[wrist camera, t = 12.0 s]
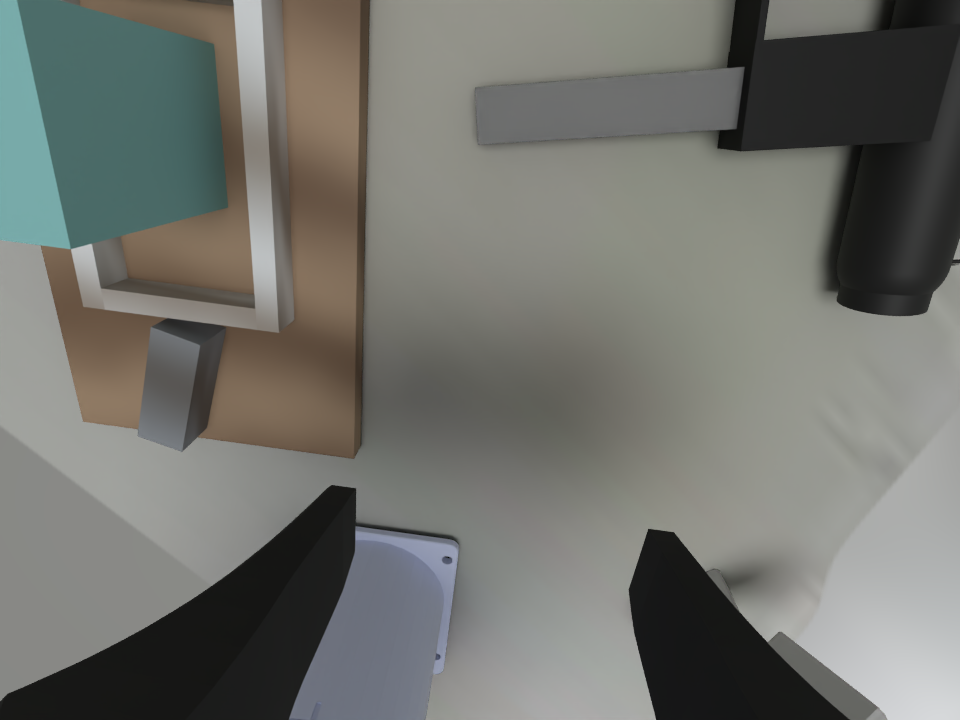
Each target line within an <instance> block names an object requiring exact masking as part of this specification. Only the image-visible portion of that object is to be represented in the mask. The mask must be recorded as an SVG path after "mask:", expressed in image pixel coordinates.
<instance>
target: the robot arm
mask: <svg viewBox="0 0 960 720" xmlns="http://www.w3.org/2000/svg"><path fill="white" fill-rule="evenodd" d="M458 553H459V545H458V544H457V542H455V541H454V540H450V539H444V538H436V537H429V536H422V535H415V534H408V533H401V532H393V531H386V530H379V529H372V528H365V527H357V526H356V488H349V487H342V486H335V485H331V486H330V487H328V488H327V489H326V490H325V491H324V492H323V493H322V494H321V495H320V496H319V497H318V498H317V499H316V500H315V501H314V502H313V503H312V504H310V505H309V506H308V507H307V508H306V509H305V510H304V511H303V512H302V513H301V514H300V515H299V516H298V517H297V518H296V519H294V520H293V521H292V522H291V523H290V524H289V525H288V526H287V527H285V528H284V529H283V530H282V531H281V532H280V533H279V534H278V535H276V536H275V537H274V538H273V539H272V540H271V541H270V542H268V543H267V544H266V545H265V546H264V547H262V548H261V549H260V550H259V551H257V552H256V553H255V554H254V555H252V556H251V557H250V558H249V559H247V560H246V561H245V562H244V563H242V564H241V565H240V566H238V567H237V568H236V569H235V570H233V571H232V572H231V573H229V574H228V575H226V576H225V577H224V578H222V579H221V580H220V581H218V582H217V583H215V584H214V585H213V586H211V587H210V588H208V589H207V590H205V591H204V592H203V593H201V594H199V595H198V596H197V597H195V598H193V599H192V600H191V601H189V602H187V603H185V604H184V605H182V606H181V607H179V608H178V609H176V610H174V611H173V612H171V613H169V614H168V615H166V616H165V617H163V618H161V619H159V620H158V621H156V622H154V623H153V624H151V625H149V626H148V627H146V628H144V629H142V630H141V631H139V632H137V633H135V634H134V635H131V636H129V637H128V638H126V639H124V640H122V641H120V642H118V643H116V644H114V645H112V646H111V647H109V648H107V649H105V650H103V651H101V652H99V653H97V654H95V655H93V656H91V657H89V658H87V659H84V660H82V661H81V662H79V663H76V664H74V665H72V666H70V667H68V668H66V669H63V670H61V671H59V672H57V673H54V674H52V675H50V676H47V677H45V678H43V679H41V680H38V681H36V682H34V683H32V684H30V685H27V686H25V687H23V688H21V689H18V690H16V691H14V692H11V693H9V694H7V695H6V696H5V697H4V698H3V699H2V700H1V701H0V720H425V719H426V713H427V707H428V701H429V694H430V688H431V682H432V676H433V674H440V673H441V672H443V670H444V663H445V655H446V647H447V639H448V632H449V624H450V616H451V608H452V600H453V593H454V585H455V577H456V569H457V561H458ZM444 556H448V557H451V558H446V557H444ZM629 596H630V604H631V613H632V620H633V627H634V633H635V637H636V642H637V646H638V650H639V654H640V658H641V662H642V666H643V670H644V674H645V677H646V681H647V685H648V689H649V693H650V697H651V701H652V705H653V709H654V712H655V716H656V720H850V719H848V718H847V717H846V716H845V715H844V714H843V713H841V712H840V711H839V710H838V709H837V708H836V707H834V706H833V705H832V704H831V703H830V702H829V701H828V700H826V699H825V698H824V697H823V696H822V695H821V694H820V693H819V692H818V691H816V690H815V689H814V688H813V687H812V686H811V685H810V684H809V683H808V682H807V681H806V680H805V679H804V678H803V677H802V676H801V675H800V674H799V673H797V672H796V671H795V670H794V669H793V668H792V667H791V666H790V665H789V664H788V663H787V662H786V661H785V660H784V659H783V658H782V657H781V656H780V655H779V654H778V653H777V652H776V651H775V650H774V649H773V648H772V647H771V646H770V645H769V644H768V643H767V641H766V640H765V639H764V638H763V637H762V636H761V635H760V634H759V633H758V632H757V631H756V630H755V629H754V628H753V626H752V625H751V624H750V623H749V622H748V621H747V620H746V619H745V618H744V617H743V615H742V614H741V613H740V612H739V611H738V610H737V609H736V607H735V606H734V605H733V604H732V603H731V602H730V601H729V599H728V598H727V597H726V596H725V595H724V593H723V592H722V591H721V590H720V589H719V587H718V586H717V585H716V584H715V583H714V581H713V580H712V579H711V578H710V577H709V575H708V574H707V573H706V572H705V570H704V569H703V568H702V567H701V565H700V564H699V563H698V562H697V561H696V559H695V558H694V557H693V556H692V554H691V553H690V552H689V551H688V549H687V548H686V547H685V546H684V544H683V543H682V542H681V541H680V539H679V538H678V537H677V536H676V535H675V533H674V532H668V531H660V530H653V529H648V532H647V535H646V538H645V541H644V544H643V547H642V550H641V554H640V557H639V560H638V563H637V566H636V569H635V572H634V575H633V578H632V581H631V584H630V587H629Z"/></svg>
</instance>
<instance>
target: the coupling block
mask: <svg viewBox="0 0 960 720" xmlns="http://www.w3.org/2000/svg"><path fill="white" fill-rule="evenodd" d="M224 208H228V199H227V188H226V176H225V164H224V153H223V141H222V129H221V118H220V106H219V94H218V83H217V71H216V60H215V48H214V44H212V43H209V42H205V41H202V40H198V39H195V38H191V37H188V36H184V35H181V34H177V33H173V32H170V31H166V30H163V29H159V28H156V27H152V26H149V25H145V24H142V23H138V22H134V21H131V20H127V19H124V18H120V17H117V16H113V15H110V14H106V13H103V12H99V11H95V10H92V9H88V8H85V7H81V6H78V5H74V4H71V3H67V2H64V1H60V0H0V240H5V241H12V242H20V243H27V244H35V245H42V246H50V247H57V248H65V249H74V248H77V247H81V246H85V245H89V244H93V243H96V242H100V241H104V240H108V239H111V238H115V237H119V236H123V235H126V234H130V233H134V232H138V231H142V230H145V229H149V228H153V227H157V226H160V225H164V224H168V223H172V222H175V221H179V220H183V219H187V218H191V217H194V216H198V215H202V214H206V213H209V212H213V211H217V210H221V209H224Z"/></svg>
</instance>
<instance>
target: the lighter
mask: <svg viewBox="0 0 960 720" xmlns="http://www.w3.org/2000/svg"><path fill="white" fill-rule="evenodd" d="M706 573H707V574H708V575H709V577H710V578H711V579H712V580H713V581H714V583H715V584H716V585H717V586H718V587H719V589H720V590H721V591H722V592H723V593H724V595H725V596H726V597H727V598H728V599H729V601H730V602H731V603H732V604H733V605H734V606H735V607H736V609H737V610H738V607H737V605H736V603H735V601H734V599H733V597H732V594H731V592H730V590H729V588H728V586H727V584H726V582H725V580H724V579H723V577H722V575H721V573H720V571H719V570H715V569H714V570H711V571H708V572H706ZM738 611H739V610H738ZM767 643H768V644H769V645H770V646H771V647H772V648H773V649H774V650H775V651H776V652H777V653H778V654H779V655H780V656H781V657H782V658H783V659H784V660H785V661H786V662H787V663H788V664H789V665H790V666H791V667H792V668H793V669H794V670H795V671H796V672H797V673H799V674H800V675H801V676H802V677H803V678H804V679H805V680H806V681H807V682H808V683H809V684H810V685H811V686H812V687H813V688H814V689H815V690H816V691H818V692H819V693H820V694H821V695H822V696H823V697H824V698H825V699H826V700H828V701H829V702H830V703H831V704H832V705H833V706H834V707H836V708H837V709H838V710H839V711H840V712H841V713H843V714H844V715H845V716H846V717H847V718H848V719H850V720H887V718H886V716H885V714H884V713H883V712H882V711H881V710H880V709H879V708H878V707H877V706H876V705H875V704H873V703H872V702H871V701H869V700H868V699H867V698H866V697H864V696H863V695H862V694H860V693H859V692H858V691H857V690H855V689H854V688H853V687H852V686H850V685H849V684H848V683H846V682H845V681H844V680H842V679H841V678H840V677H839V676H837V675H836V674H835V673H833V672H832V671H831V670H830V669H828V668H827V667H826V666H824V665H823V664H822V663H821V662H819V661H818V660H817V659H816V658H814V657H813V656H812V655H810V654H809V653H808V652H807V651H805V650H804V649H803V648H802V647H800V646H799V645H798V644H796V643H795V642H794V641H793V640H791V639H790V638H789V637H787V636H786V635H785V634H784V633H782V632H778V633H777V634H776V635H775V636H774V637H773V638H772V639H771V640H770V641H769V642H767Z"/></svg>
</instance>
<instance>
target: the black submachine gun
mask: <svg viewBox="0 0 960 720" xmlns="http://www.w3.org/2000/svg"><path fill="white" fill-rule="evenodd" d="M768 6H769V0H736V3H735V12H734V20H733V28H732V37H731V45H730V52H729V56H728V65H727V68H723V69H710V70H697V71H684V72H671V73H658V74H645V75H632V76H619V77H606V78H593V79H580V80H567V81H554V82H540V83H527V84H514V85H501V86H488V87H475V96H476V114H477V133H478V145H481V144H498V143H514V142H531V141H547V140H564V139H580V138H597V137H613V136H630V135H646V134H663V133H679V132H696V131H712V130H720V132H719V140H718V148H719V149H727V150H735V151H754V150H772V149H791V148H809V147H827V146H846V145H863V149H862V153H861V158H860V162H859V167H858V171H857V175H856V180H855V184H854V189H853V193H852V198H851V202H850V206H849V211H848V215H847V220H846V224H845V229H844V233H843V238H842V242H841V246H840V251H839V255H838V260H837V275H838V278H839V281H840V287H839V291H838V296H837V302H838V303H839V304H841V305H842V306H845V307H847V308H850V309H853V310H857V311H861V312H866V313H871V314H878V315H888V316H913V315H919V314H923V313H925V312H927V310H928V307H929V304H930V301H931V298H932V294H933V292H934V291H935V290H936V289H937V288H938V287H939V286H940V285H941V284H942V283H943V281H944V280H945V278H946V277H947V275H948V273H949V270H950V267H951V265H954V264H952V263H960V260H953V258H954V255H955V251H956V248H957V245H958V242H959V239H960V0H896V2H895V7H894V11H893V16H892V20H891V24H890V29H889V30H881V31H869V32H857V33H845V34H833V35H821V36H809V37H797V38H785V39H773V40H764V34H765V27H766V20H767V13H768Z"/></svg>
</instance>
